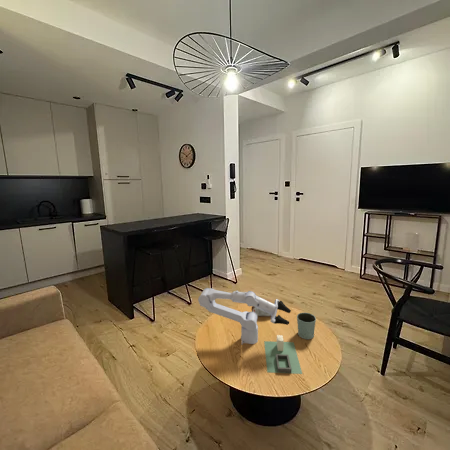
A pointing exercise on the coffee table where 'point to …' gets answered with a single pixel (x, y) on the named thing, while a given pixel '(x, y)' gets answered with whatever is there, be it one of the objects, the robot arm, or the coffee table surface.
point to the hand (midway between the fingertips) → (289, 317)
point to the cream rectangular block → (280, 343)
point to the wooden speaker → (259, 312)
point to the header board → (282, 358)
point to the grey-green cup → (306, 325)
